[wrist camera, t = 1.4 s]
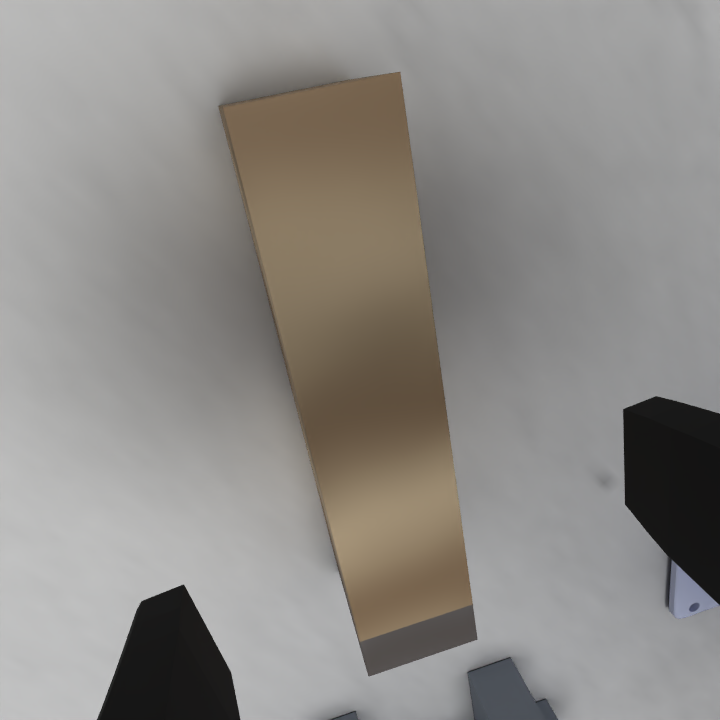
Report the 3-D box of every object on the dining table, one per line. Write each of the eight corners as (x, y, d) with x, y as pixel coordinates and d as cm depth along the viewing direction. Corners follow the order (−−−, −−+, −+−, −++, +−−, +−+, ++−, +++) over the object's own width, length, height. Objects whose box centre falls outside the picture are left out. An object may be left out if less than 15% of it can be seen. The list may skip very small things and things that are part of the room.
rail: (218, 106, 15) (222, 107, 11) (350, 79, 16) (399, 72, 12) (338, 571, 22) (368, 676, 18) (428, 543, 23) (477, 639, 19)
